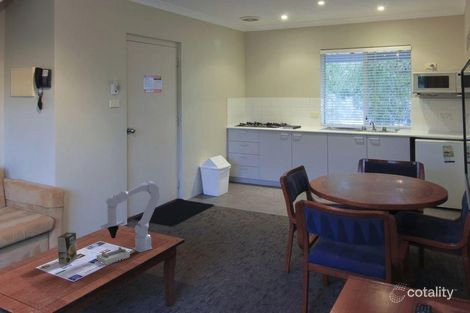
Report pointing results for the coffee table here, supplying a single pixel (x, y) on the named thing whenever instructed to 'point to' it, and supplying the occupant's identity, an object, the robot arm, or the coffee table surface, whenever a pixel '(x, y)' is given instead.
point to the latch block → (113, 256)
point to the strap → (113, 252)
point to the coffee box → (67, 248)
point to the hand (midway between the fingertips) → (113, 237)
